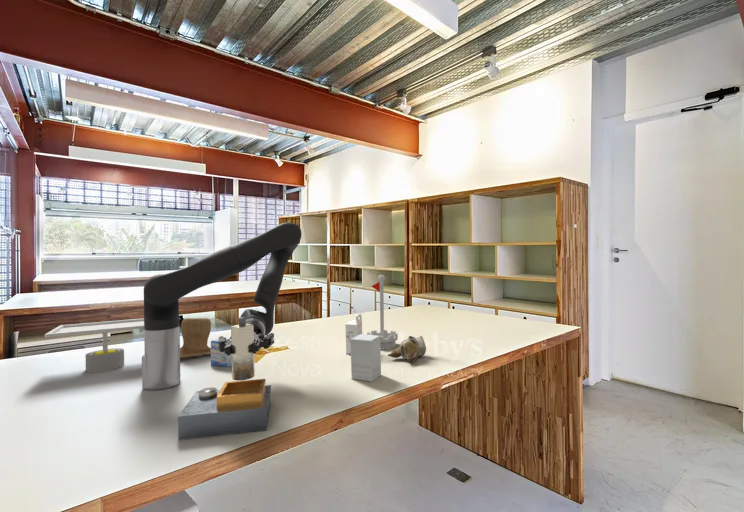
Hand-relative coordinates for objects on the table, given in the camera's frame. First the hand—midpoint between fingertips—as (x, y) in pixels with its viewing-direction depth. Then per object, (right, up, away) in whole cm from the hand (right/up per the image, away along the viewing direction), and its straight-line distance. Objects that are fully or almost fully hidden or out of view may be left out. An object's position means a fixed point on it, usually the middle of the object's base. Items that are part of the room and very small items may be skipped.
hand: (241, 350), depth 82 cm
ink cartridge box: (+23, -17, +60) cm, 67 cm away
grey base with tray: (-3, -17, +2) cm, 17 cm away
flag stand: (+34, -16, +69) cm, 79 cm away
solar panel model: (-63, -18, +43) cm, 78 cm away
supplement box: (+28, -17, +31) cm, 45 cm away
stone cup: (-40, -17, +56) cm, 71 cm away
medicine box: (-23, -17, +45) cm, 54 cm away
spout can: (0, -7, +3) cm, 7 cm away
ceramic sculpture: (+44, -17, +49) cm, 68 cm away
